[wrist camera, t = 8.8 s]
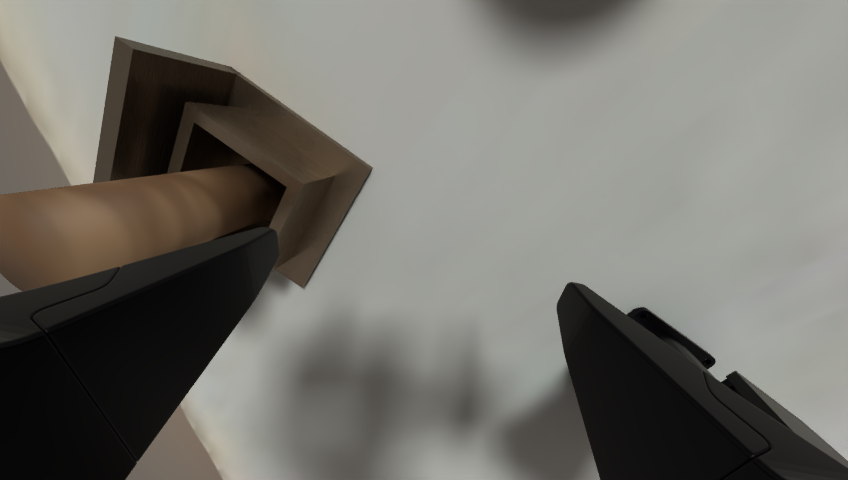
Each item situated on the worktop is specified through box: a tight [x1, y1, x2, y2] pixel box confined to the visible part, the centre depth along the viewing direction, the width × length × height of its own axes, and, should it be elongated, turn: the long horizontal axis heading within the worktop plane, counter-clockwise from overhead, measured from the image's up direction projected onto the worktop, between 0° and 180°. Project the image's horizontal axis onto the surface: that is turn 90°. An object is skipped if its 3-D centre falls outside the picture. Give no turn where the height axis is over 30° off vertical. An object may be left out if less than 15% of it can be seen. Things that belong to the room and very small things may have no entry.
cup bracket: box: [93, 36, 372, 287], centre depth 20 cm, size 12×12×7 cm
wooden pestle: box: [0, 163, 287, 291], centre depth 17 cm, size 4×4×13 cm
